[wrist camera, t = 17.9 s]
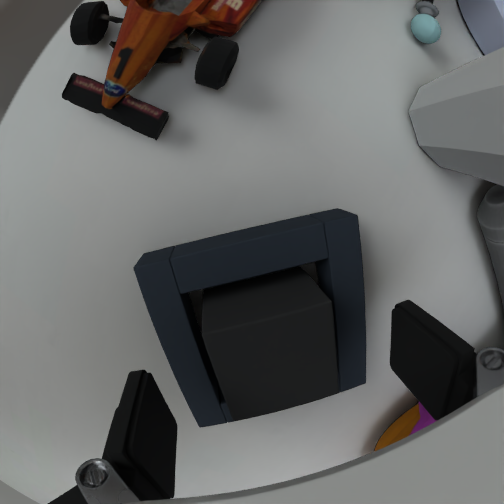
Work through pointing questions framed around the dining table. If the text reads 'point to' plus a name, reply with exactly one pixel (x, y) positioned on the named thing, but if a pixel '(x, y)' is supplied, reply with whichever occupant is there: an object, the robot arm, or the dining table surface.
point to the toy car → (153, 52)
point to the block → (270, 342)
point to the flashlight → (494, 230)
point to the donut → (406, 426)
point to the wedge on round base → (485, 22)
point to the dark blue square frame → (246, 266)
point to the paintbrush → (426, 22)
